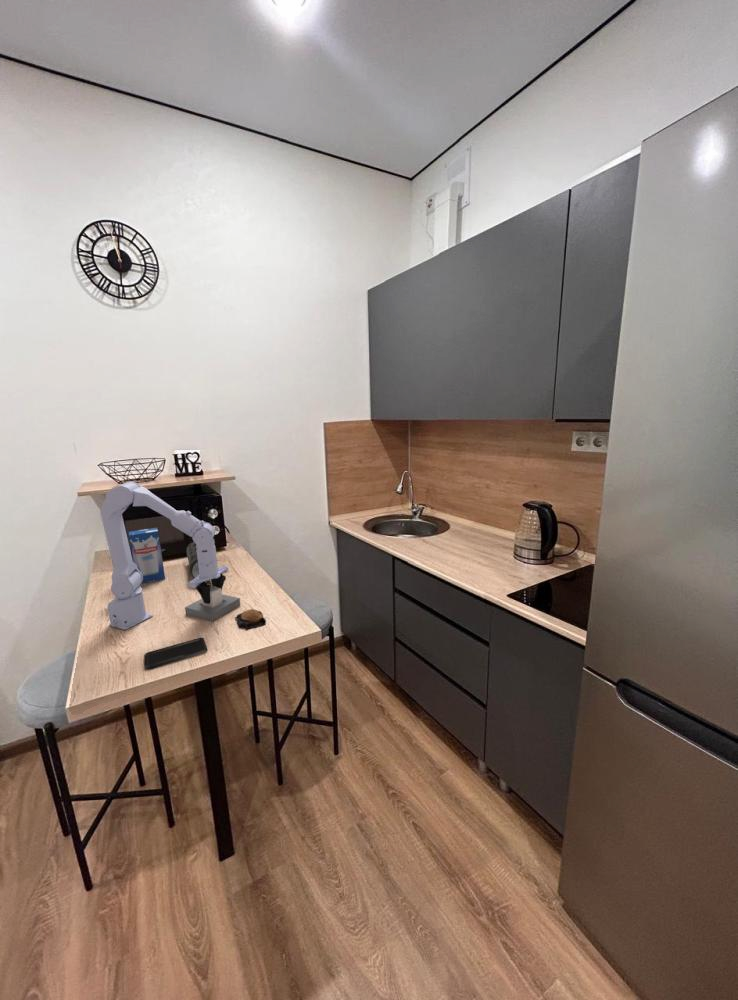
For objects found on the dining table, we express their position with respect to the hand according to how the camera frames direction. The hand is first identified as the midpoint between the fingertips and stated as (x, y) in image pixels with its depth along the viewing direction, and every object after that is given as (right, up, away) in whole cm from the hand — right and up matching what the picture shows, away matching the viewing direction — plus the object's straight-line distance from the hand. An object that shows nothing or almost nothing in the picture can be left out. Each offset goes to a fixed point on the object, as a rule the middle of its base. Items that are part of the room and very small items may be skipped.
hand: (212, 600), depth 132 cm
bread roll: (+15, -5, -7) cm, 17 cm away
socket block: (0, -3, +1) cm, 3 cm away
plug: (0, -2, 0) cm, 2 cm away
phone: (0, -9, -24) cm, 26 cm away
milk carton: (-36, +1, +29) cm, 46 cm away
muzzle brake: (-18, +3, +34) cm, 39 cm away
